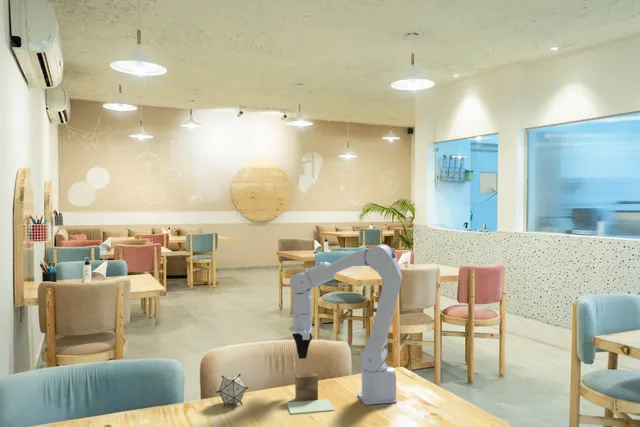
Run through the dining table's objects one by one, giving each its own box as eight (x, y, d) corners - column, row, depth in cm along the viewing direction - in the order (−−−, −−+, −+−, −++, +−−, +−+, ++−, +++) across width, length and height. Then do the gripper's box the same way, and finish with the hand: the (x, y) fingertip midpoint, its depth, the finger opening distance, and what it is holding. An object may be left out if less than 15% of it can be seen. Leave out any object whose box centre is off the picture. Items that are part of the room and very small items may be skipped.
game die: (236, 419, 138) (239, 398, 132) (209, 406, 140) (211, 385, 134) (251, 394, 145) (254, 373, 140) (225, 382, 147) (227, 361, 141)
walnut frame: (315, 396, 145) (315, 372, 145) (317, 400, 142) (317, 376, 142) (295, 398, 144) (295, 374, 144) (297, 402, 141) (296, 377, 141)
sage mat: (328, 400, 142) (328, 399, 142) (334, 410, 135) (334, 409, 135) (286, 403, 140) (286, 402, 140) (290, 414, 132) (290, 413, 132)
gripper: (285, 308, 156) (285, 352, 156) (292, 318, 142) (292, 366, 142) (307, 307, 157) (308, 350, 157) (316, 317, 143) (316, 364, 143)
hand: (302, 358), depth 150 cm, fingers closed
